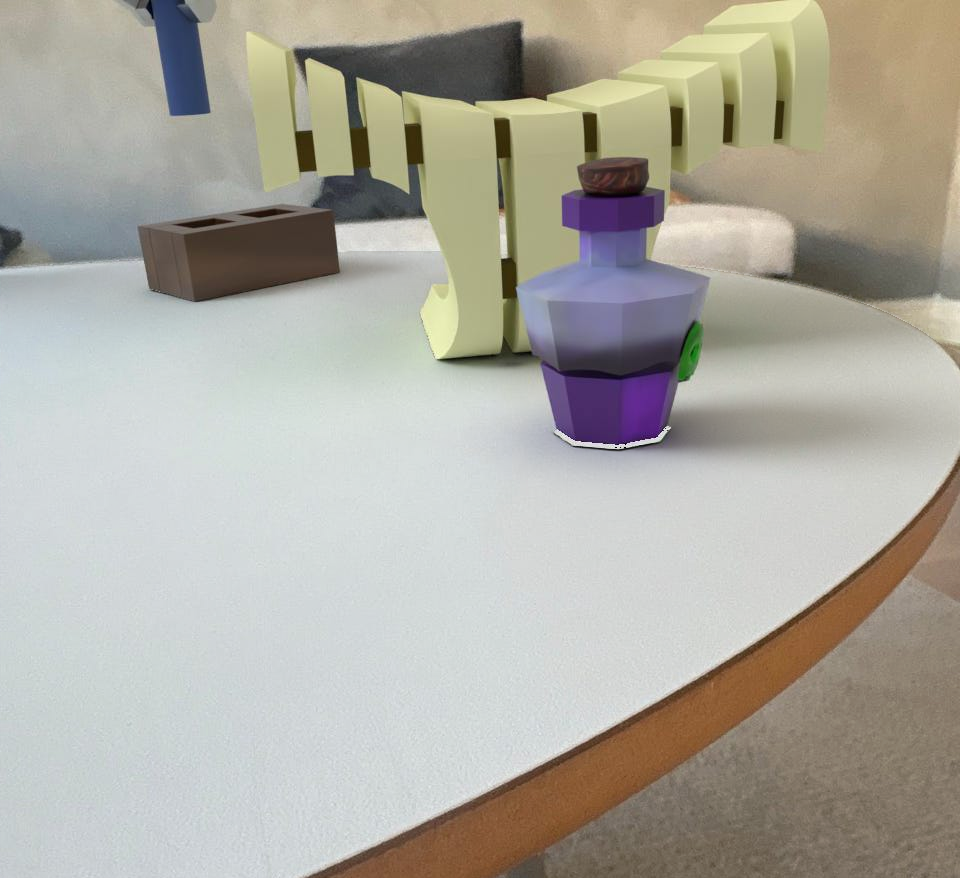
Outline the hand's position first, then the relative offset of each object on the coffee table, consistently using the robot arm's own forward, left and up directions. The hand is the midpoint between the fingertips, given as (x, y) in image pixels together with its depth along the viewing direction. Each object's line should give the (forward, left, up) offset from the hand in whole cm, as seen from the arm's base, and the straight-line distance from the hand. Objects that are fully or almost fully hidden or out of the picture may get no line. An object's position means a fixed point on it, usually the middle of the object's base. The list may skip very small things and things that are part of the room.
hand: (181, 17), depth 74 cm
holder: (-6, +6, -19) cm, 21 cm away
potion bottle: (+43, -3, -19) cm, 47 cm away
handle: (0, -1, -6) cm, 6 cm away
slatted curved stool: (+26, +8, -19) cm, 33 cm away
